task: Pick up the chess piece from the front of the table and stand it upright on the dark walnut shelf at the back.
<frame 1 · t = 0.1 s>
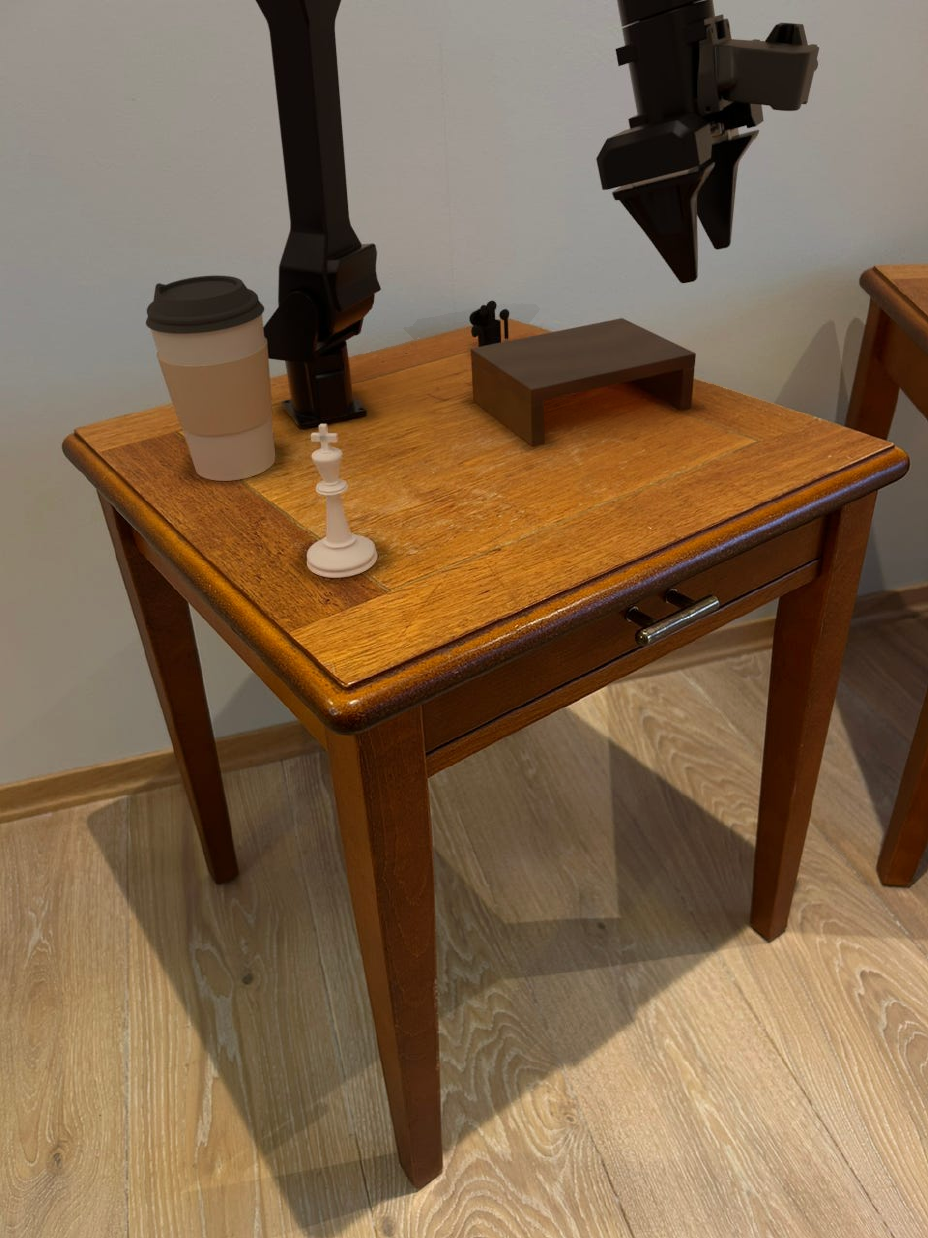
hand: (706, 263, 68), 15 cm above the table, tool pointing down, fingers open, 9 cm apart
chess piece: (342, 562, 68), on the table
coffee cup: (236, 464, 82), on the table
shelf: (579, 404, 88), on the table
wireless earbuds: (486, 352, 102), on the table
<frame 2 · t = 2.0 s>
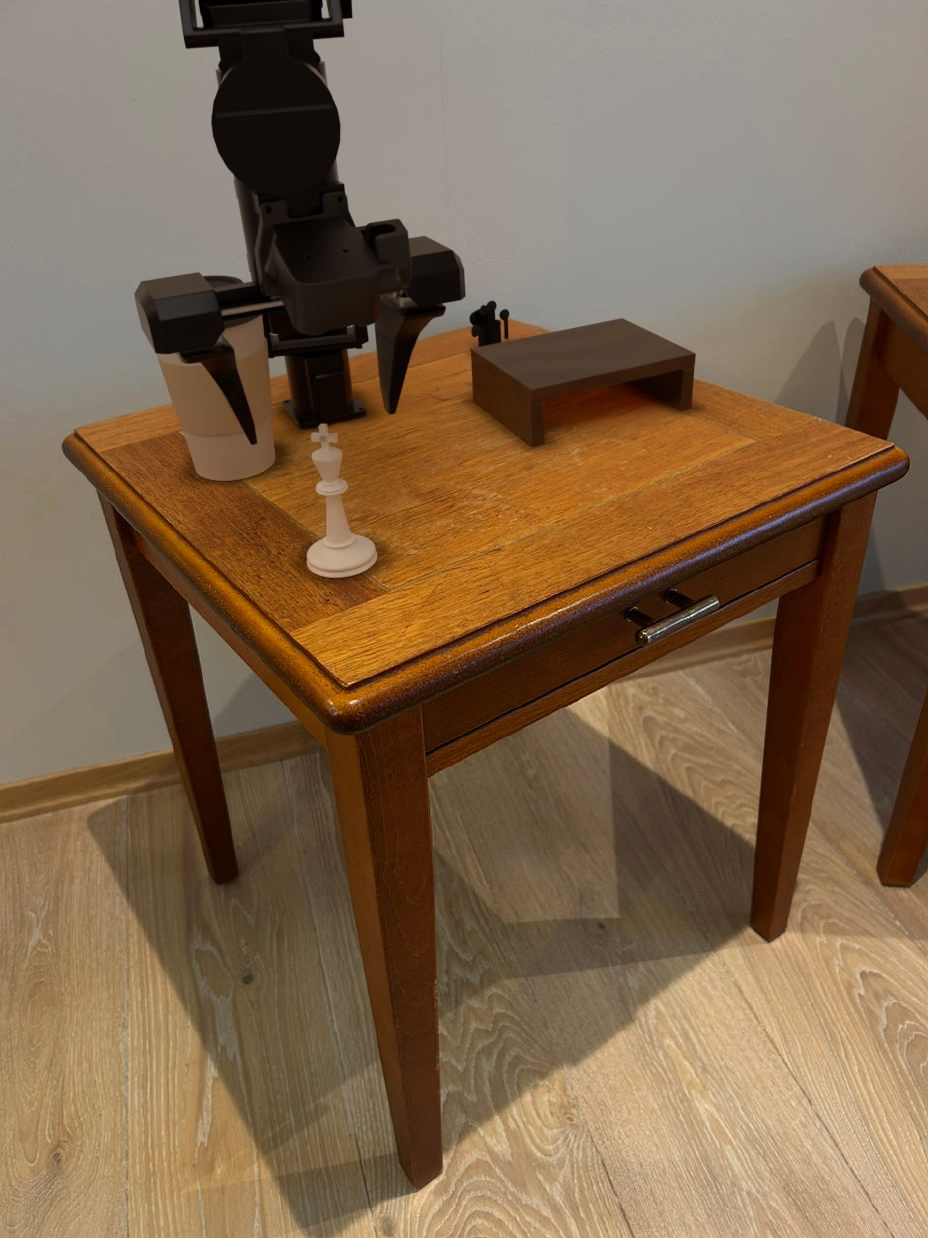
hand: (323, 427, 62), 10 cm above the table, tool pointing down, fingers open, 9 cm apart
nothing on the table moved.
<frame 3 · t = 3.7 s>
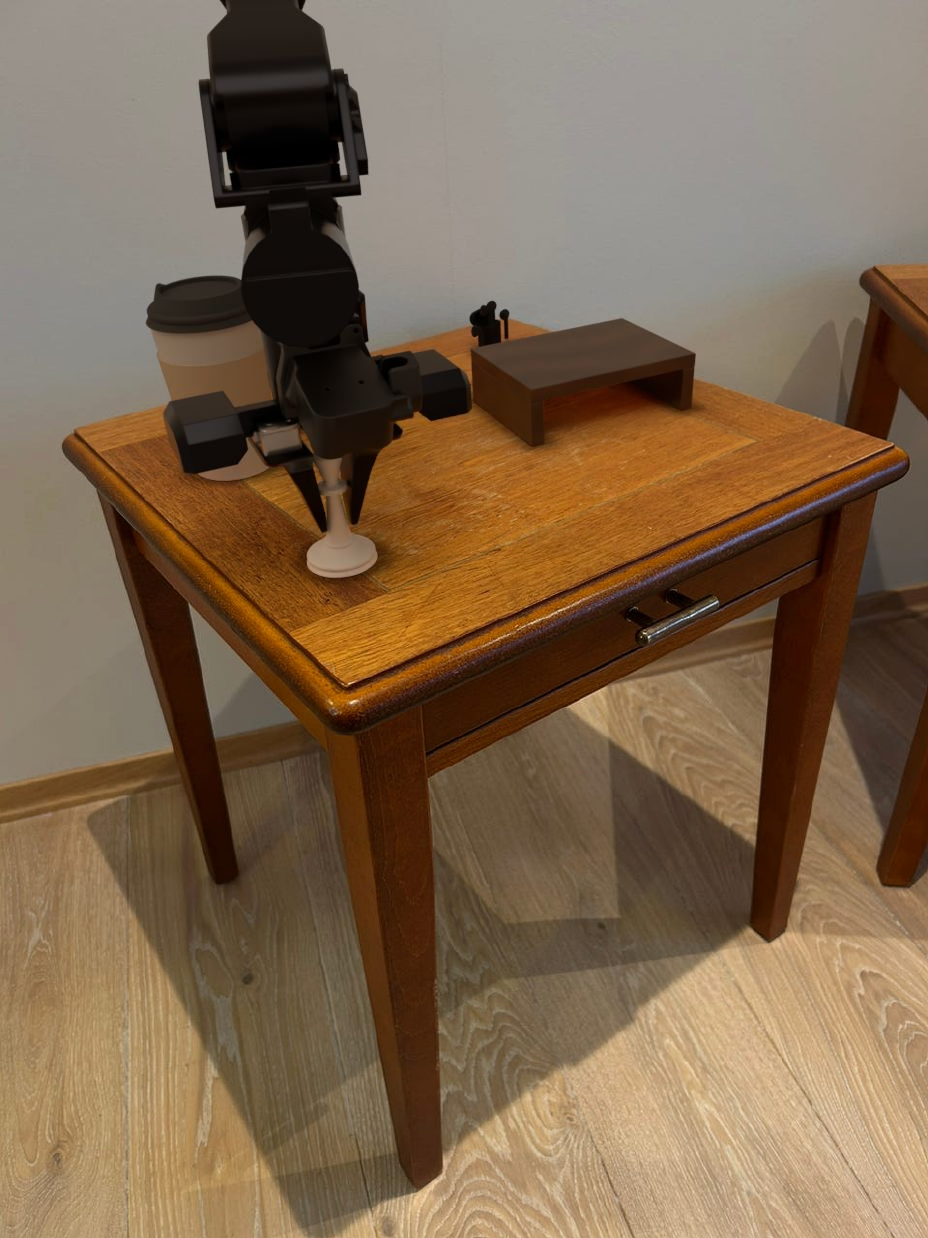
hand: (337, 526, 66), 3 cm above the table, tool pointing down, fingers closed on chess piece
chess piece: (342, 562, 68), on the table, touching gripper
everything else where it was.
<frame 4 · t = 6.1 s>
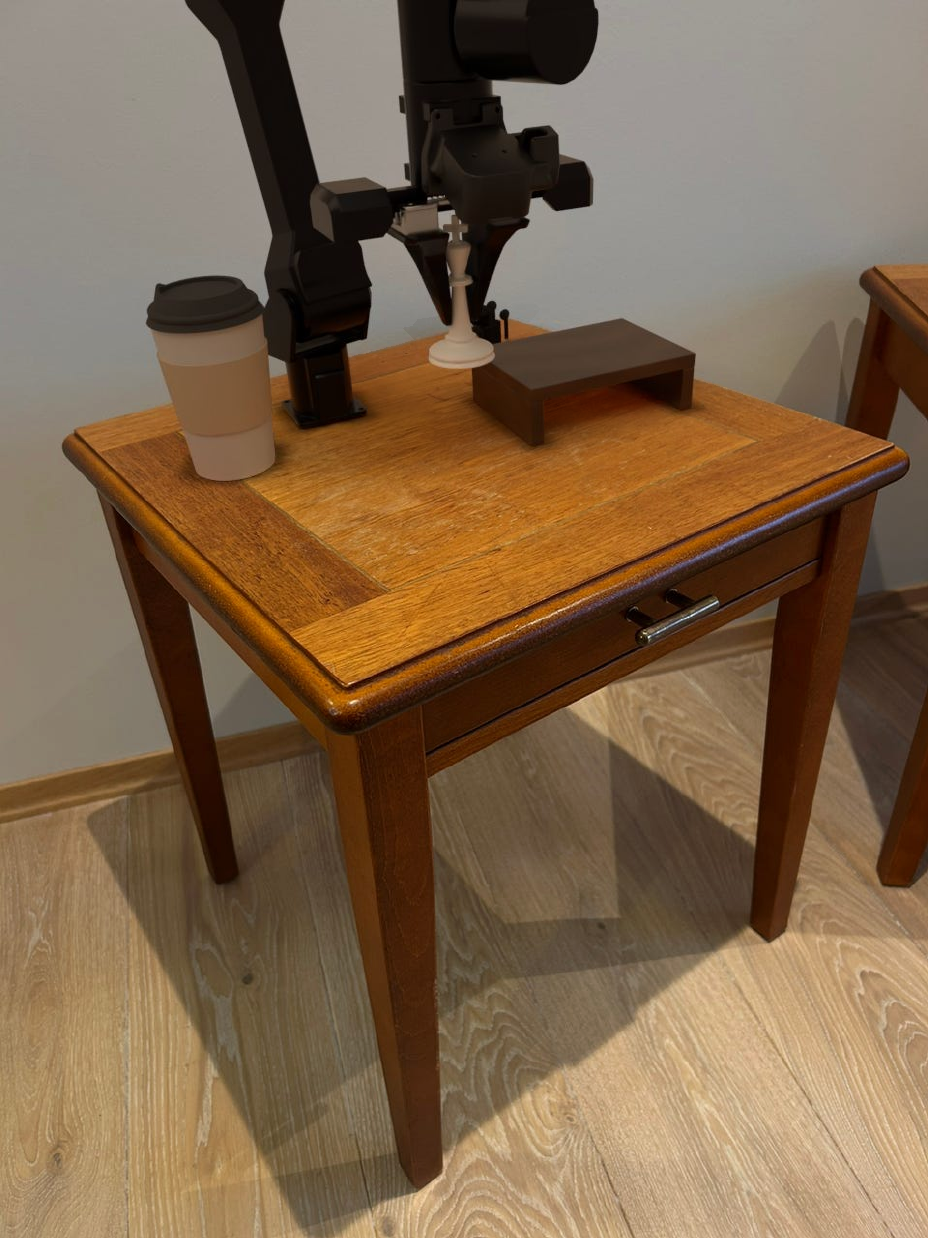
hand: (460, 322, 70), 12 cm above the table, tool pointing down, fingers closed on chess piece
chess piece: (461, 360, 72), point 9 cm above the table, touching gripper
everything else where it was.
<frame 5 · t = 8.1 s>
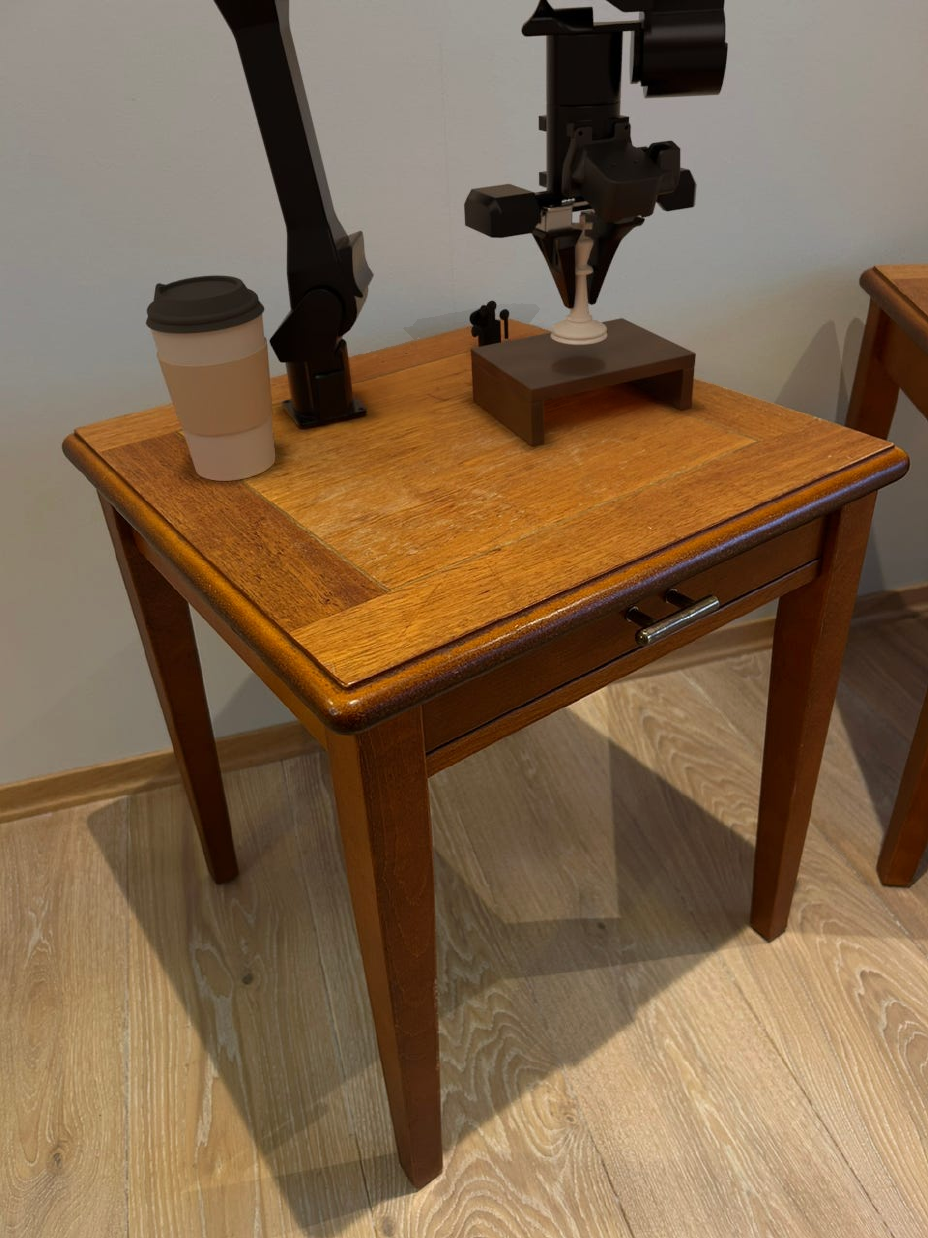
hand: (579, 305, 83), 9 cm above the table, tool pointing down, fingers closed on chess piece
chess piece: (578, 338, 85), point 6 cm above the table, touching gripper
everything else where it was.
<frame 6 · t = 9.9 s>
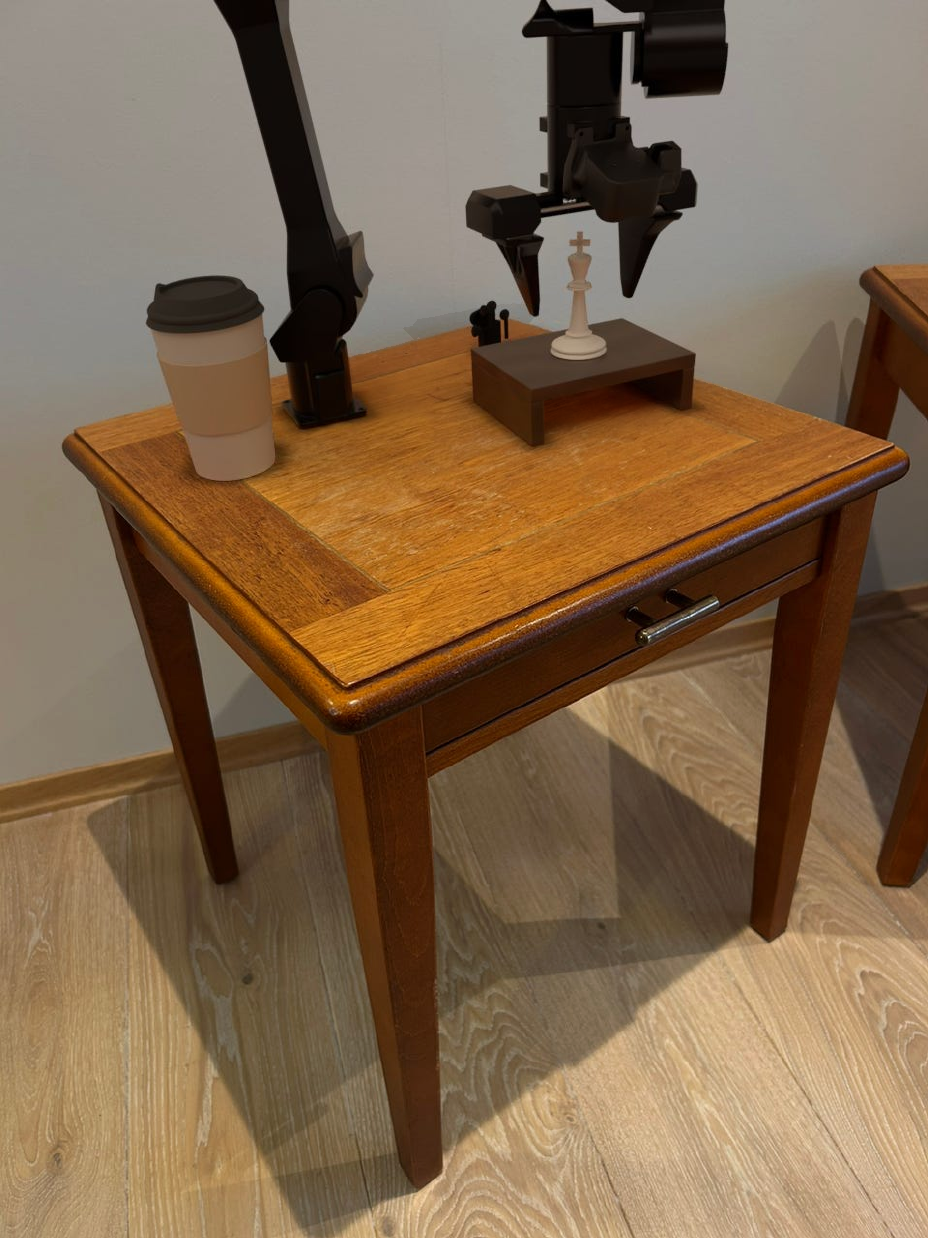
hand: (581, 306, 83), 9 cm above the table, tool pointing down, fingers open, 9 cm apart
chess piece: (578, 352, 86), point 5 cm above the table, touching shelf
everything else where it was.
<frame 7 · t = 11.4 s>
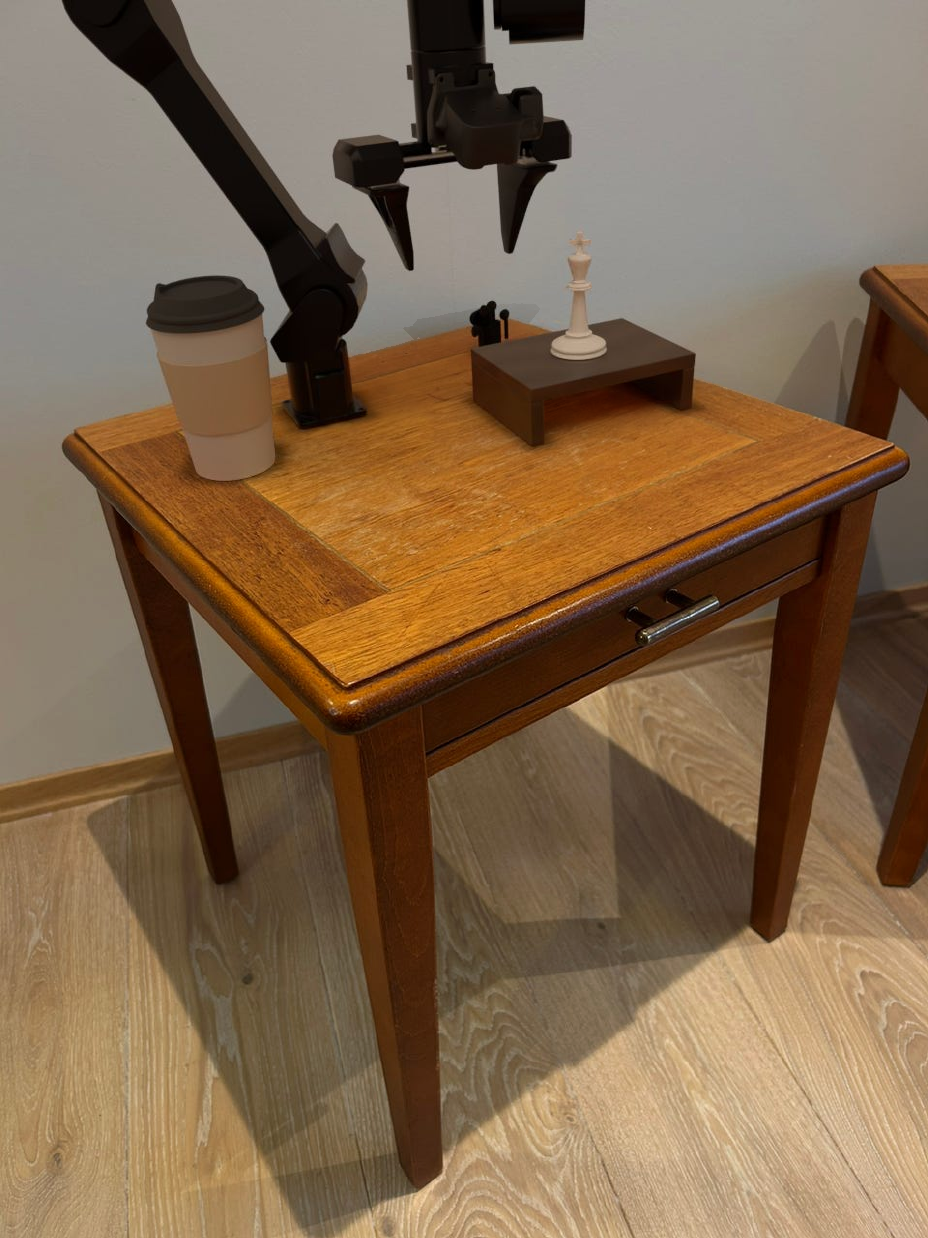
hand: (459, 261, 82), 13 cm above the table, tool pointing down, fingers open, 9 cm apart
nothing on the table moved.
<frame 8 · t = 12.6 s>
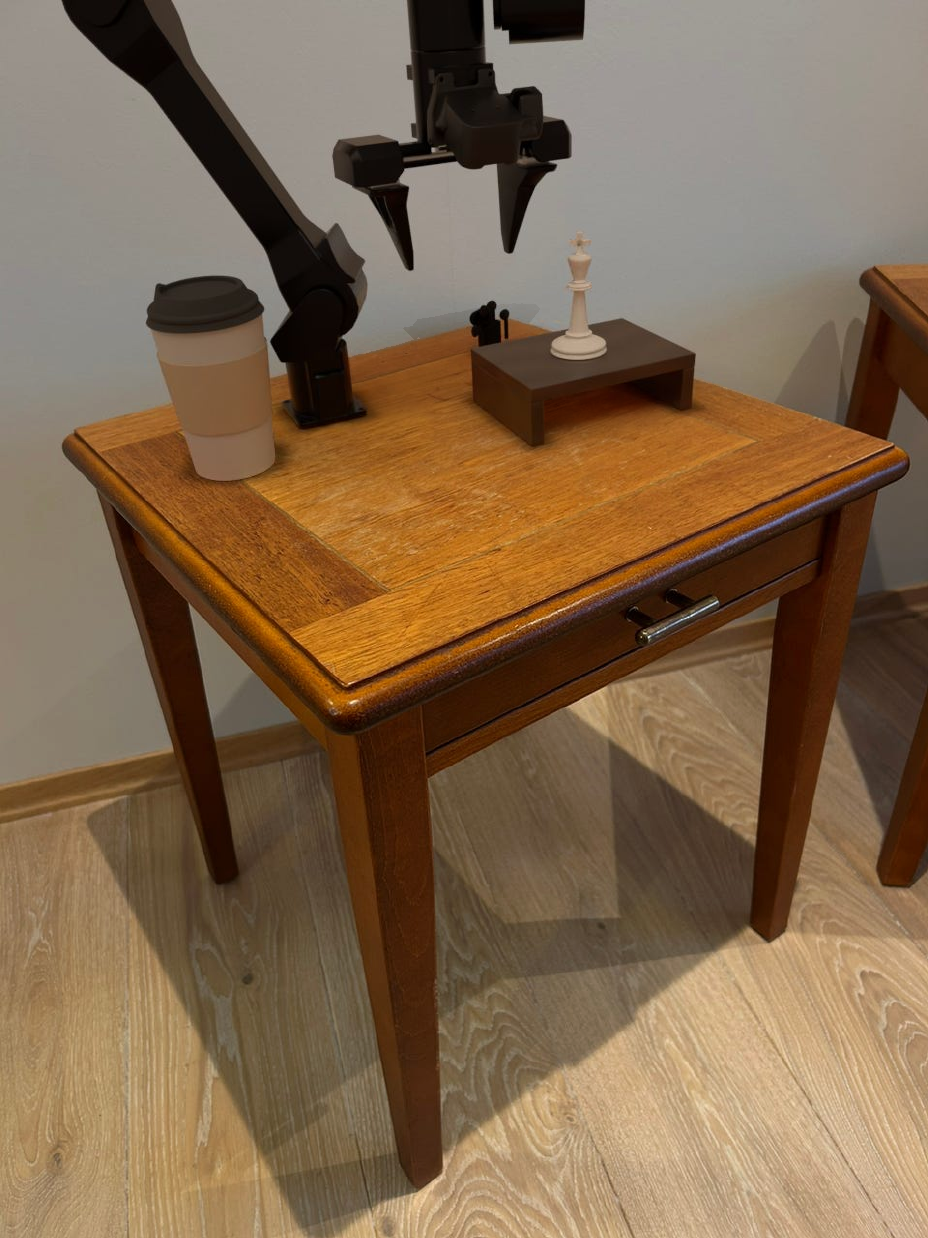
hand: (459, 261, 82), 13 cm above the table, tool pointing down, fingers open, 9 cm apart
nothing on the table moved.
at the end: chess piece inside the target area on the shelf (0.2 cm from its centre), point 4.8 cm above the shelf's base; chess piece tilted 0°; the gripper is holding nothing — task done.
